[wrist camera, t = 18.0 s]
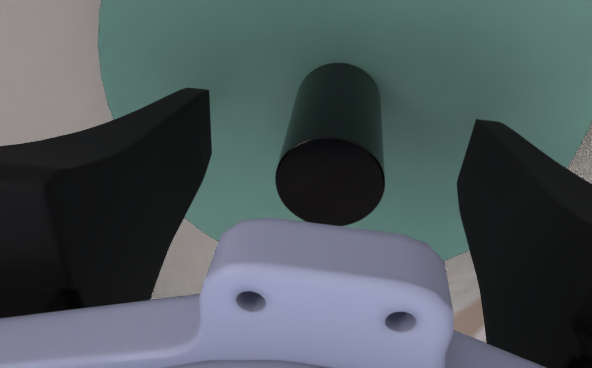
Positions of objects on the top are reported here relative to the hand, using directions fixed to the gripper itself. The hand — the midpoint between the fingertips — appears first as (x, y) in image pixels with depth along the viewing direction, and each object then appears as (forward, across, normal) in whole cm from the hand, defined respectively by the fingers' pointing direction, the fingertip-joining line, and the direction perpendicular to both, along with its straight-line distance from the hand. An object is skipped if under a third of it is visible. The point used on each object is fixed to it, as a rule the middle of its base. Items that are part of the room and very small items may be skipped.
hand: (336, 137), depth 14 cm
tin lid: (+3, 0, 0) cm, 3 cm away
